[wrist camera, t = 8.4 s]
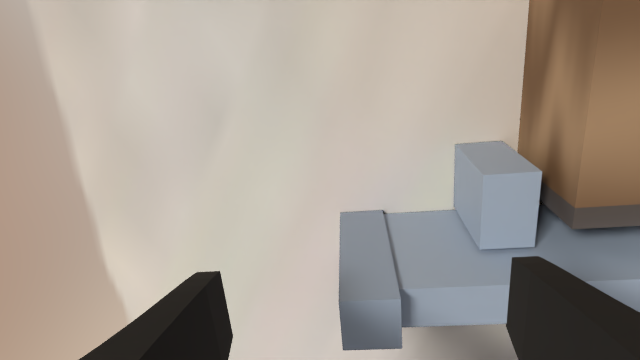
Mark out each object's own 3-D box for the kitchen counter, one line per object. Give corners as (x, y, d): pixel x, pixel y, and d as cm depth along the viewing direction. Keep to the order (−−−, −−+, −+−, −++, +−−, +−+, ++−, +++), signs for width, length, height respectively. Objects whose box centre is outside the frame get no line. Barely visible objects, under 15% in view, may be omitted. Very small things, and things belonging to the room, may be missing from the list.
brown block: (596, 173, 19) (681, 223, 14) (515, 178, 19) (572, 229, 14) (649, -182, 14) (799, -280, 10) (542, -168, 15) (637, -257, 10)
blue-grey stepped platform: (772, 227, 19) (986, 330, 13) (343, 249, 21) (342, 350, 14) (807, 119, 17) (1075, 176, 11) (335, 152, 19) (331, 218, 13)
